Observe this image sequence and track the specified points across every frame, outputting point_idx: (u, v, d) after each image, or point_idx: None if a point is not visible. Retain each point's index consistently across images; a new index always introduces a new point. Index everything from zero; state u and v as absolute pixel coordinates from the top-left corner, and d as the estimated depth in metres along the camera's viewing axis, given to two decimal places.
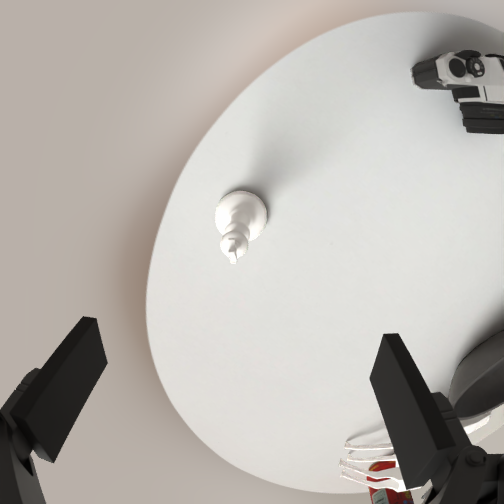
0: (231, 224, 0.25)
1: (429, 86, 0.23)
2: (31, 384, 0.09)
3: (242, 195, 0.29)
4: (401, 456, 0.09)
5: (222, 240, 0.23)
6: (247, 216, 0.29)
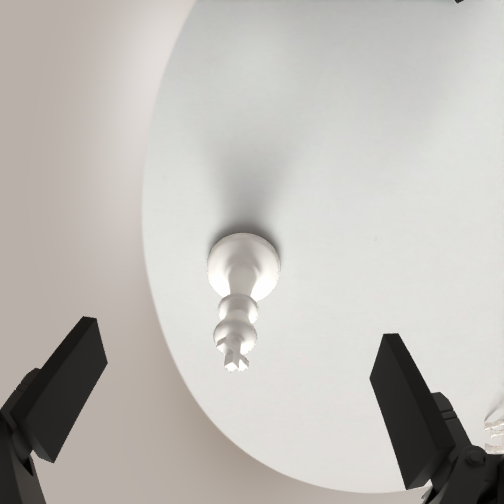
0: (222, 303, 0.16)
1: None
2: (31, 384, 0.09)
3: (228, 243, 0.21)
4: (401, 456, 0.09)
5: (215, 340, 0.15)
6: (247, 268, 0.20)
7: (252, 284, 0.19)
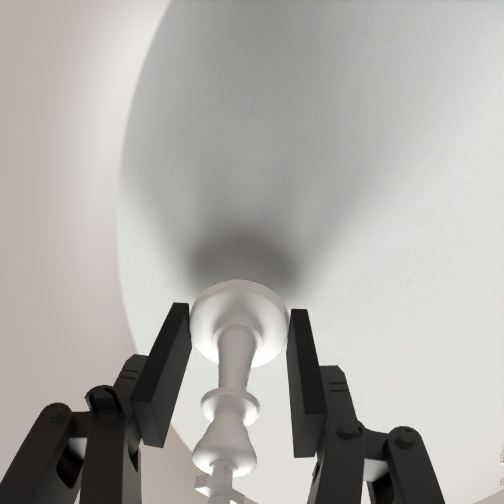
0: (206, 400, 0.10)
1: None
2: (145, 368, 0.11)
3: (217, 296, 0.14)
4: (293, 424, 0.11)
5: (195, 463, 0.08)
6: (244, 334, 0.14)
7: (251, 358, 0.13)
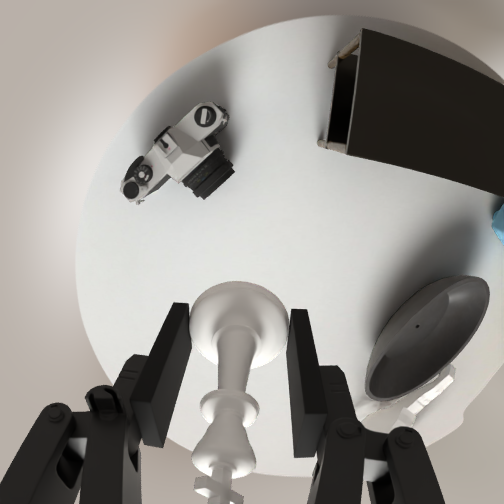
0: (206, 402, 0.10)
1: (152, 191, 0.34)
2: (145, 368, 0.11)
3: (216, 298, 0.14)
4: (293, 424, 0.11)
5: (195, 464, 0.08)
6: (243, 335, 0.14)
7: (250, 359, 0.13)
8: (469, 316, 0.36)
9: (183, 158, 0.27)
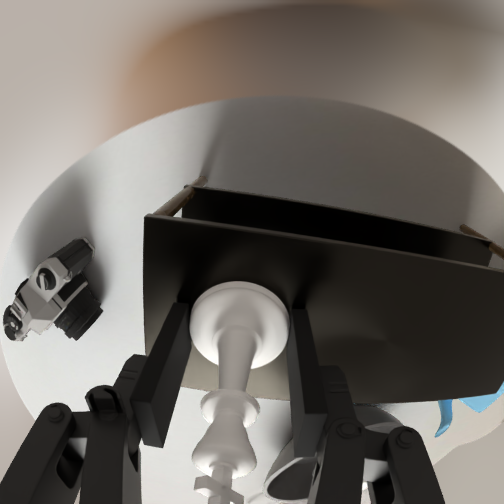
0: (206, 402, 0.10)
1: None
2: (145, 368, 0.11)
3: (217, 298, 0.14)
4: (293, 424, 0.11)
5: (195, 464, 0.08)
6: (244, 335, 0.14)
7: (251, 359, 0.13)
8: None
9: (35, 322, 0.23)
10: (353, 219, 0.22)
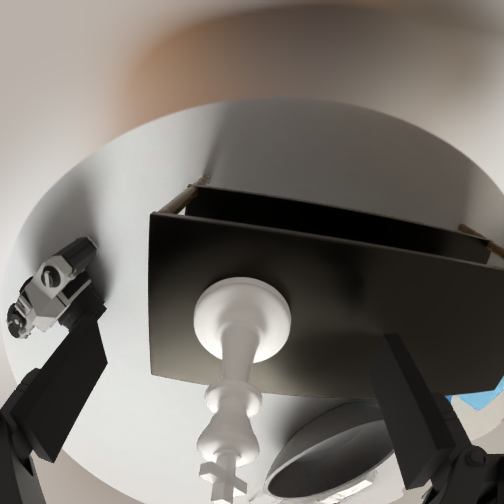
0: (211, 392, 0.11)
1: None
2: (31, 384, 0.09)
3: (220, 293, 0.15)
4: (401, 456, 0.09)
5: (200, 452, 0.09)
6: (247, 329, 0.14)
7: (253, 352, 0.14)
8: (385, 440, 0.33)
9: (39, 319, 0.24)
10: (353, 218, 0.22)
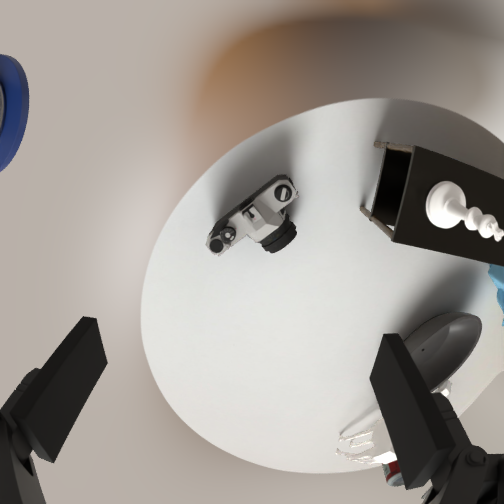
0: (469, 212, 0.23)
1: None
2: (31, 384, 0.09)
3: (444, 186, 0.27)
4: (401, 456, 0.09)
5: (481, 227, 0.21)
6: (458, 201, 0.27)
7: None
8: (464, 343, 0.45)
9: (266, 227, 0.36)
10: None
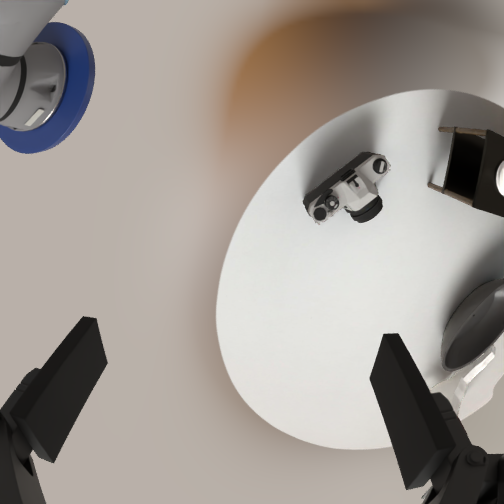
0: None
1: None
2: (31, 384, 0.09)
3: None
4: (401, 456, 0.09)
5: None
6: None
7: None
8: None
9: (368, 195, 0.37)
10: None
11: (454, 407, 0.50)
